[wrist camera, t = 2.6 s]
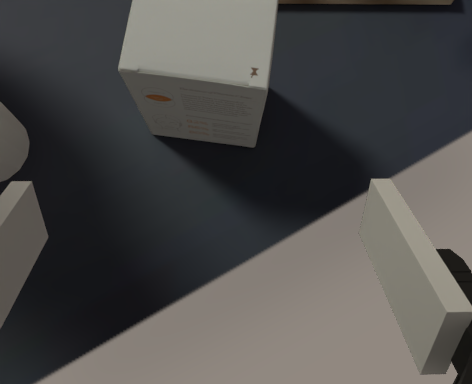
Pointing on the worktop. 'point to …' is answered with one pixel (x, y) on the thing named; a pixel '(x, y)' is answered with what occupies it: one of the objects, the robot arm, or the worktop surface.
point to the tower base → (367, 2)
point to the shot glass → (11, 144)
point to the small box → (200, 66)
